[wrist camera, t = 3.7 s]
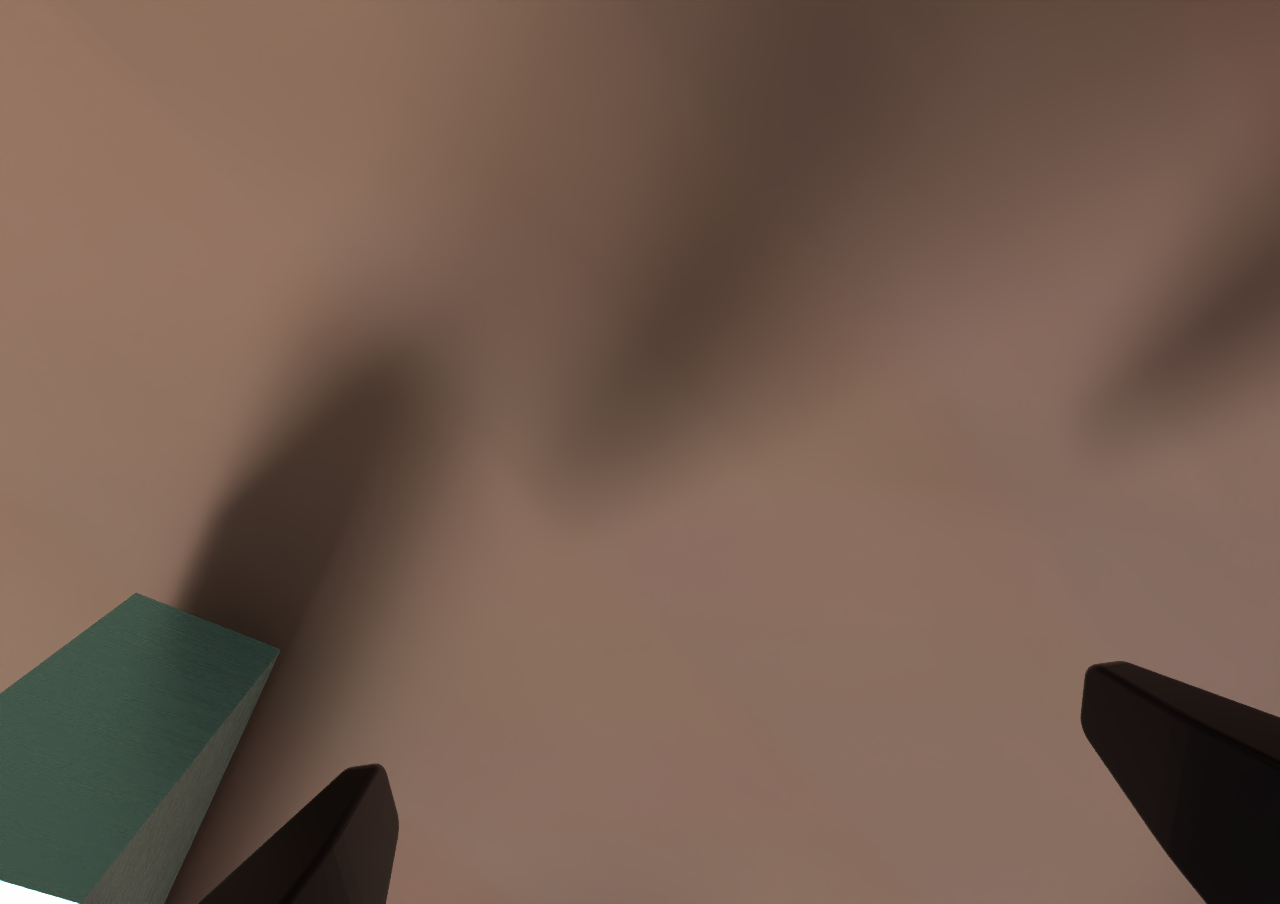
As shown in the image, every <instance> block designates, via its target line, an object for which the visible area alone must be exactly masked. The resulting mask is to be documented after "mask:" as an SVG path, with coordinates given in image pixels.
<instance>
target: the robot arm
mask: <svg viewBox="0 0 1280 904" xmlns="http://www.w3.org/2000/svg"><path fill="white" fill-rule="evenodd" d="M1081 724H1082V728H1083V731H1084V733H1085V735H1086V737H1087V739H1088V741H1089V742H1090V744H1091V745H1092V746H1093V748H1094V749H1095V751H1096V752H1097V754H1098V755H1099V757H1100V758H1101V760H1102V761H1103V763H1104V764H1105V765H1106V767H1107V768H1108V770H1109V771H1110V773H1111V774H1112V776H1113V777H1114V779H1115V780H1116V781H1117V783H1118V784H1119V786H1120V787H1121V789H1122V790H1123V792H1124V793H1125V795H1126V796H1127V797H1128V799H1129V800H1130V802H1131V803H1132V805H1133V806H1134V808H1135V809H1136V811H1137V812H1138V814H1139V815H1140V816H1141V818H1142V819H1143V821H1144V822H1145V824H1146V825H1147V827H1148V828H1149V830H1150V831H1151V832H1152V834H1153V835H1154V837H1155V838H1156V840H1157V841H1158V842H1159V844H1160V845H1161V846H1162V848H1163V849H1164V851H1165V852H1166V853H1167V855H1168V856H1169V857H1170V859H1171V860H1172V861H1173V862H1174V864H1175V865H1176V866H1177V868H1178V869H1179V870H1180V871H1181V873H1182V874H1183V875H1184V876H1185V878H1186V879H1187V880H1188V881H1189V883H1190V884H1191V885H1192V886H1193V888H1194V889H1195V890H1196V891H1197V892H1198V894H1199V895H1200V896H1201V897H1202V899H1203V900H1204V901H1205V902H1206V904H1280V717H1277V716H1274V715H1272V714H1269V713H1266V712H1263V711H1261V710H1258V709H1255V708H1252V707H1250V706H1247V705H1244V704H1241V703H1239V702H1236V701H1233V700H1230V699H1228V698H1225V697H1222V696H1219V695H1216V694H1214V693H1211V692H1208V691H1205V690H1203V689H1200V688H1197V687H1194V686H1192V685H1189V684H1186V683H1183V682H1181V681H1178V680H1175V679H1172V678H1170V677H1167V676H1164V675H1161V674H1159V673H1156V672H1153V671H1150V670H1148V669H1145V668H1142V667H1139V666H1137V665H1134V664H1131V663H1128V662H1124V661H1115V662H1107V663H1100V664H1094V665H1092V666H1090V667H1089V668H1088V670H1087V671H1086V674H1085V680H1084V689H1083V698H1082V708H1081ZM398 831H399V820H398V814H397V810H396V806H395V802H394V799H393V795H392V791H391V787H390V784H389V780H388V776H387V773H386V771H385V769H384V767H383V766H382V765H380V764H369V765H362V766H354V767H350V768H348V769H346V770H345V771H343V772H342V773H341V774H340V775H339V776H337V777H336V778H335V779H334V780H333V781H332V782H331V783H330V784H329V785H328V786H327V787H325V788H324V789H323V790H322V791H321V792H320V793H319V794H318V795H317V796H316V797H314V798H313V799H312V800H311V801H310V802H309V803H308V804H307V805H306V806H305V807H304V808H302V809H301V810H300V811H299V812H298V813H297V814H296V815H295V816H294V817H293V818H291V819H290V820H289V821H288V822H287V823H286V824H285V825H284V826H283V827H282V828H281V829H279V830H278V831H277V832H276V833H275V834H274V835H273V836H272V837H271V838H270V839H268V840H267V841H266V842H265V843H264V844H263V845H262V846H261V847H260V848H259V849H257V850H256V851H255V852H254V853H253V854H252V855H251V856H250V857H249V858H248V859H247V860H245V861H244V862H243V863H242V864H241V865H240V866H239V867H238V868H237V869H236V870H234V871H233V872H232V873H231V874H230V875H229V876H228V877H227V878H226V879H225V880H224V881H222V882H221V883H220V884H219V885H218V886H217V887H216V888H215V889H214V890H213V891H211V892H210V893H209V894H208V895H207V896H206V897H205V898H204V899H203V900H202V901H201V902H199V903H198V904H386V900H387V894H388V889H389V883H390V878H391V872H392V867H393V861H394V856H395V850H396V845H397V839H398Z"/></svg>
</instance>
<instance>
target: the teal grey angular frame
mask: <svg viewBox="0 0 1280 904" xmlns="http://www.w3.org/2000/svg"><path fill="white" fill-rule="evenodd" d="M280 651H281V649H279V648H276V647H274V646H271V645H269V644H266V643H264V642H261V641H259V640H256V639H253V638H251V637H248V636H246V635H243V634H241V633H238V632H235V631H233V630H230V629H228V628H225V627H223V626H220V625H217V624H215V623H212V622H210V621H207V620H205V619H202V618H199V617H197V616H194V615H192V614H189V613H187V612H184V611H182V610H179V609H176V608H174V607H171V606H169V605H166V604H164V603H161V602H158V601H156V600H153V599H151V598H148V597H146V596H143V595H140V594H138V593H135V594H134V595H132V596H131V597H130V598H128V599H127V600H126V601H124V602H123V603H122V604H120V605H119V606H118V607H116V608H115V609H114V610H112V611H111V612H109V613H108V614H107V615H105V616H104V617H103V618H101V619H100V620H99V621H97V622H96V623H95V624H93V625H92V626H91V627H89V628H88V629H87V630H85V631H84V632H83V633H81V634H80V635H79V636H77V637H76V638H74V639H73V640H72V641H70V642H69V643H68V644H66V645H65V646H64V647H62V648H61V649H60V650H58V651H57V652H56V653H54V654H53V655H52V656H50V657H49V658H48V659H46V660H45V661H44V662H42V663H41V664H40V665H38V666H37V667H35V668H34V669H33V670H31V671H30V672H29V673H27V674H26V675H25V676H23V677H22V678H21V679H19V680H18V681H17V682H15V683H14V684H13V685H11V686H10V687H9V688H7V689H6V690H5V691H3V692H2V693H0V904H165V901H166V899H167V897H168V895H169V893H170V891H171V888H172V886H173V884H174V882H175V880H176V877H177V875H178V873H179V871H180V869H181V867H182V864H183V862H184V860H185V858H186V856H187V853H188V851H189V849H190V847H191V845H192V843H193V840H194V838H195V836H196V834H197V832H198V829H199V827H200V825H201V823H202V821H203V819H204V816H205V814H206V812H207V810H208V808H209V805H210V803H211V801H212V799H213V797H214V795H215V792H216V790H217V788H218V786H219V784H220V781H221V779H222V777H223V775H224V773H225V771H226V768H227V766H228V764H229V762H230V760H231V757H232V755H233V753H234V751H235V749H236V747H237V744H238V742H239V740H240V738H241V736H242V733H243V731H244V729H245V727H246V725H247V723H248V720H249V718H250V716H251V714H252V712H253V709H254V707H255V705H256V703H257V701H258V699H259V696H260V694H261V692H262V690H263V688H264V685H265V683H266V681H267V679H268V677H269V675H270V672H271V670H272V668H273V666H274V664H275V661H276V659H277V657H278V655H279V653H280Z"/></svg>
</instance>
